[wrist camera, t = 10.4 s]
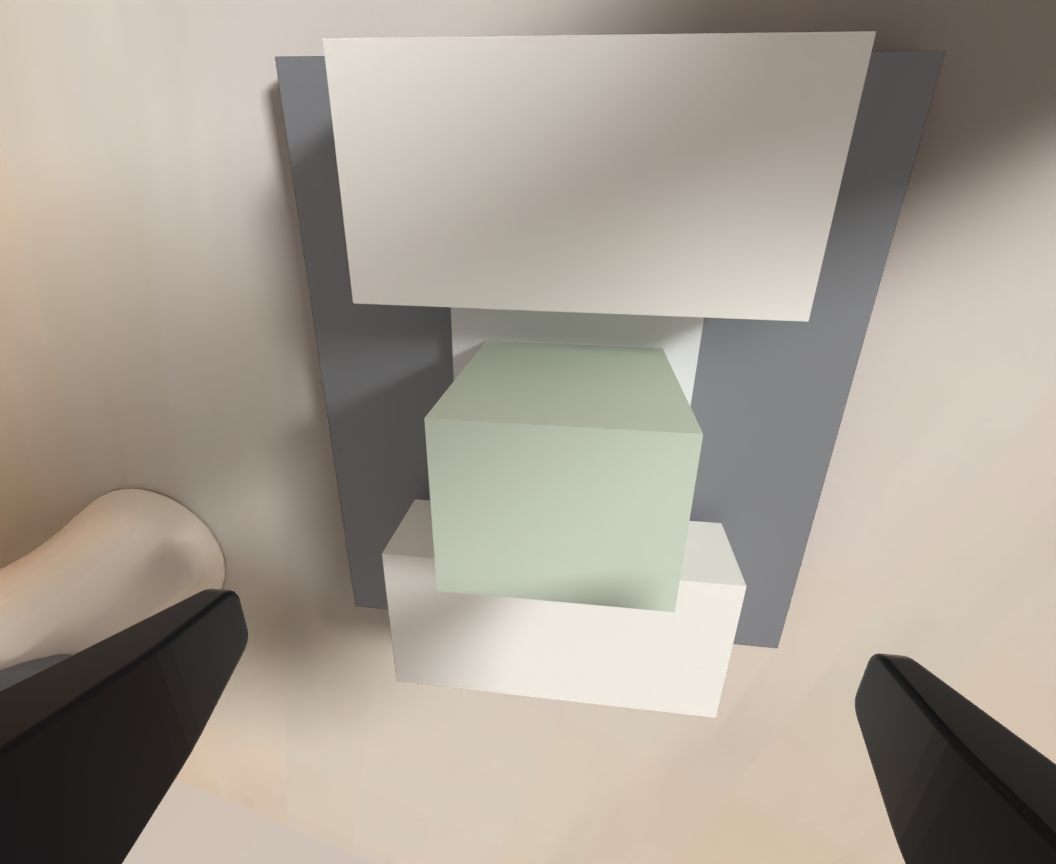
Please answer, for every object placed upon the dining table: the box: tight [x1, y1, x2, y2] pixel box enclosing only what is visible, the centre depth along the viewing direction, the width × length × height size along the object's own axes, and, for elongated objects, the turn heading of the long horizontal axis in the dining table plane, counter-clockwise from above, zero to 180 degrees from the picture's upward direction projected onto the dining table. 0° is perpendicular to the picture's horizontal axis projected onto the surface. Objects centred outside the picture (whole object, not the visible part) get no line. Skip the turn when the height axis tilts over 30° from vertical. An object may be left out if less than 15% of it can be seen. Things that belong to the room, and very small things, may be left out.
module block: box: [424, 341, 703, 612], centre depth 13 cm, size 5×4×6 cm
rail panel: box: [275, 31, 945, 718], centre depth 15 cm, size 16×18×5 cm
